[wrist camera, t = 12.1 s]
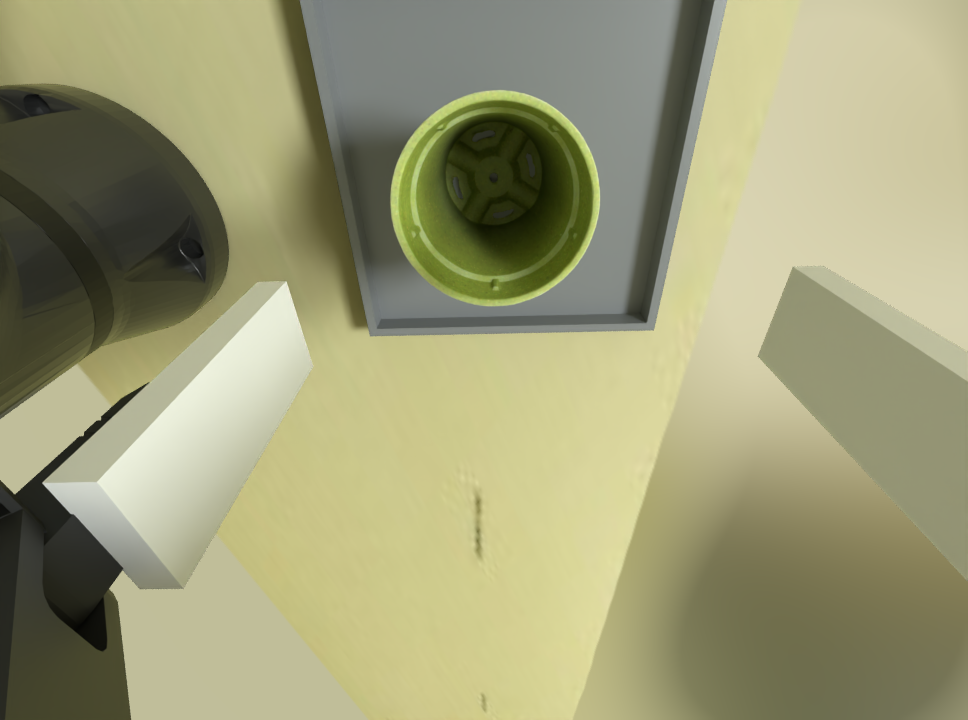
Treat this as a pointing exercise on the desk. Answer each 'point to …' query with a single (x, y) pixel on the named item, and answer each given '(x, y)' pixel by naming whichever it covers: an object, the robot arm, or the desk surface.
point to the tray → (581, 99)
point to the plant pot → (495, 198)
